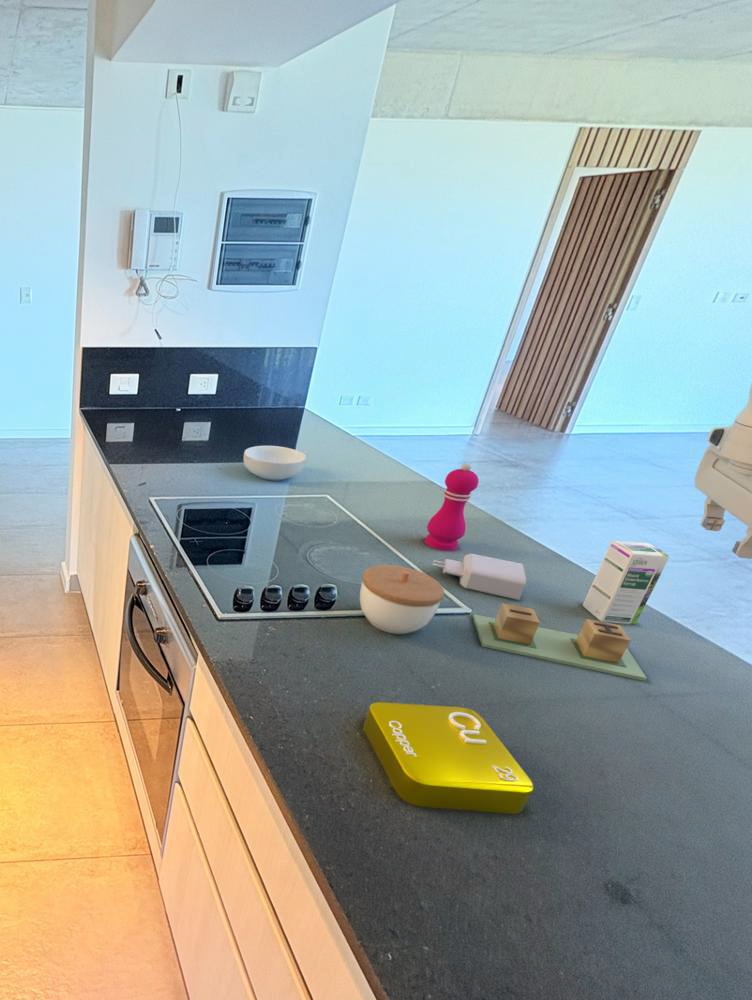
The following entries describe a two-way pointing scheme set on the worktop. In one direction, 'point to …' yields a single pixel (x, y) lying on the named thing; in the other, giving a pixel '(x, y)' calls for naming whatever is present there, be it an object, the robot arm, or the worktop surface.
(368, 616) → the lidded bowl
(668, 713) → the worktop surface
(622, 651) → the block
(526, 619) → the block
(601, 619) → the syrup box
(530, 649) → the word board
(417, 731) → the element tile
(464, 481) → the pepper mill
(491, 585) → the charger
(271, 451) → the cereal bowl
